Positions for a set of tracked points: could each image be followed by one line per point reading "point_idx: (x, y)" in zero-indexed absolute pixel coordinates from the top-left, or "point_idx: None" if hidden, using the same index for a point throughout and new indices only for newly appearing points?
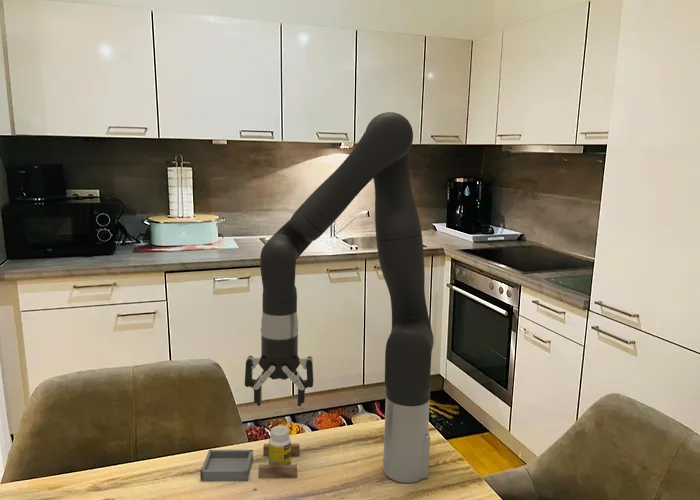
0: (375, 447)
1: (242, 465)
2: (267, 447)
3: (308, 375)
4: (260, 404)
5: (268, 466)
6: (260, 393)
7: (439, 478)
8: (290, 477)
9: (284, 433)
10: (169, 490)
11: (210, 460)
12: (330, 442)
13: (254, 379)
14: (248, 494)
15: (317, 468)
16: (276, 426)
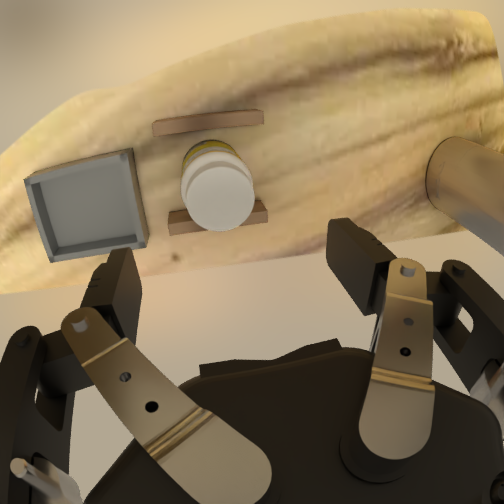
0: (425, 92)
1: (118, 193)
2: (166, 134)
3: (462, 366)
4: (140, 287)
5: (193, 227)
6: (133, 329)
7: None
8: None
9: (241, 220)
10: (27, 281)
11: (41, 188)
12: (334, 57)
13: (61, 357)
14: (167, 273)
15: (306, 169)
16: (202, 176)
